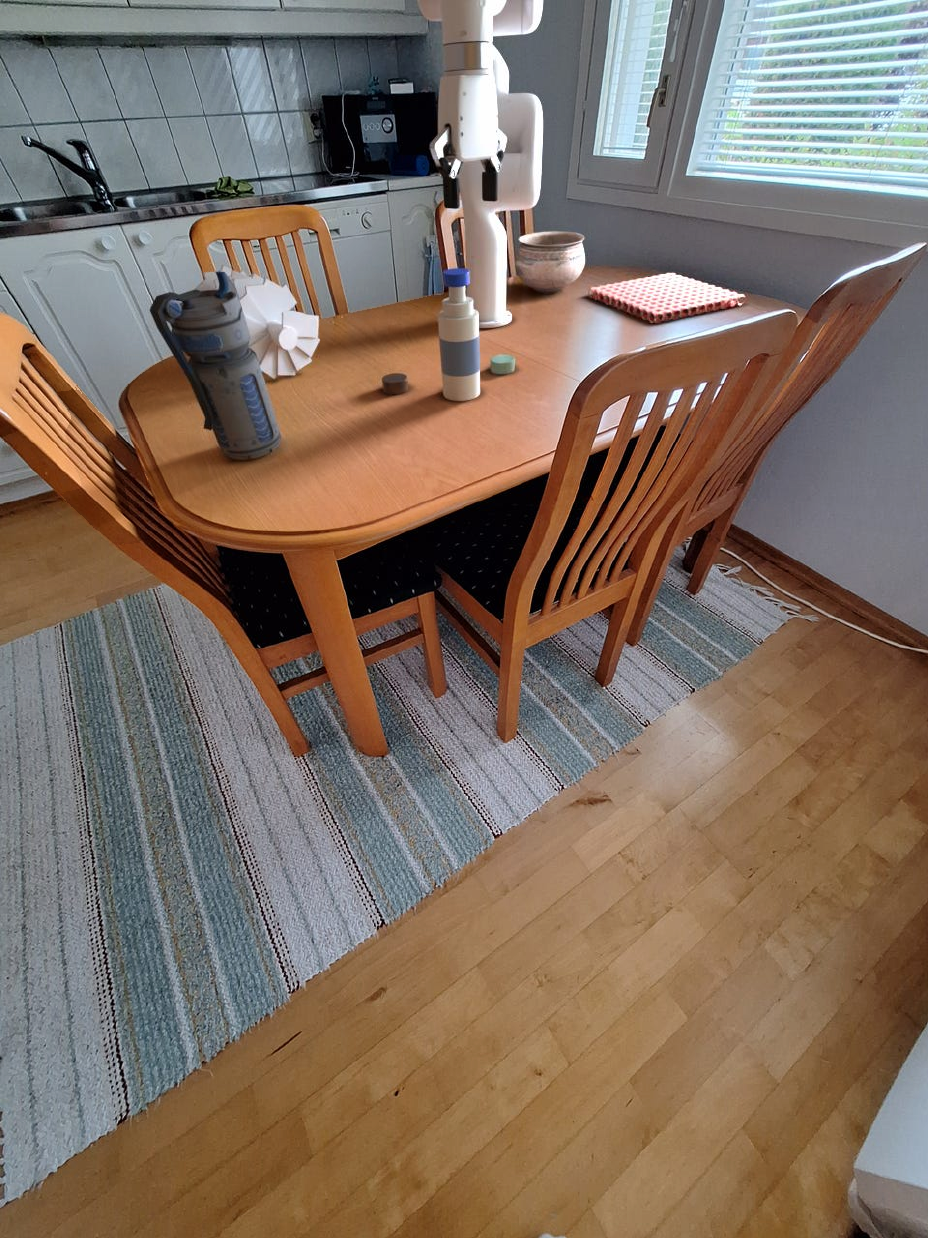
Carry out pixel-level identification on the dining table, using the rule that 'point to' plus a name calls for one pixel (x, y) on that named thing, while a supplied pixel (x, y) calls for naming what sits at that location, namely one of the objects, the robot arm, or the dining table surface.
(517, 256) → the cooking pot
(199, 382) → the beverage bottle
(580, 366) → the dining table surface
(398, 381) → the brown disc
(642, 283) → the pink perforated square mat
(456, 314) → the cream bottle
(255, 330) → the spiral staircase
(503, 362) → the sage cylinder
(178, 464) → the dining table surface
